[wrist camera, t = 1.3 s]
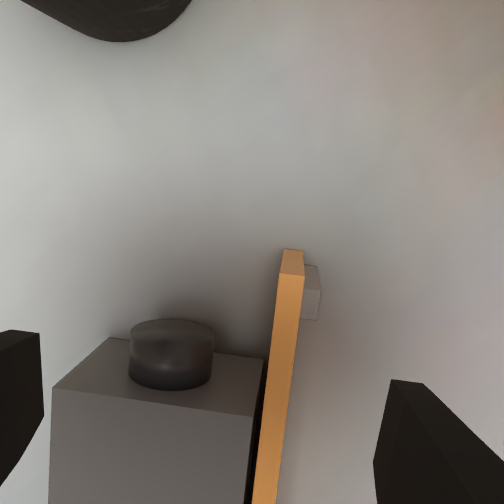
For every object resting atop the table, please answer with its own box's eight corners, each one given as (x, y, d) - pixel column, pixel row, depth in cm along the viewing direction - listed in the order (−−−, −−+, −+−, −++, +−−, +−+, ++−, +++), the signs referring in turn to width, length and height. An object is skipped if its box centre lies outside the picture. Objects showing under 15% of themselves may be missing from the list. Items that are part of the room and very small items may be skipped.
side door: (274, 574, 22) (268, 681, 18) (245, 569, 22) (231, 674, 18) (317, 252, 20) (323, 278, 15) (283, 248, 20) (279, 273, 15)
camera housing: (240, 557, 23) (221, 681, 17) (97, 532, 23) (35, 645, 18) (267, 324, 21) (256, 380, 15) (110, 303, 21) (44, 350, 16)
